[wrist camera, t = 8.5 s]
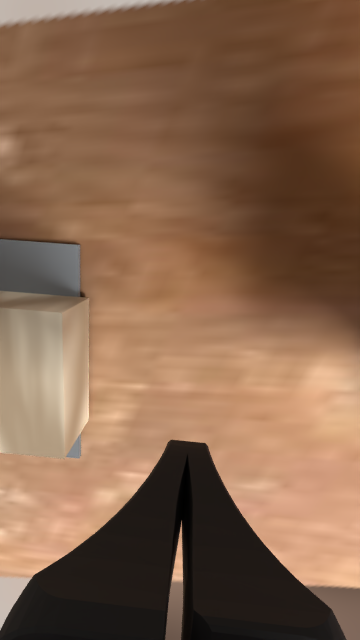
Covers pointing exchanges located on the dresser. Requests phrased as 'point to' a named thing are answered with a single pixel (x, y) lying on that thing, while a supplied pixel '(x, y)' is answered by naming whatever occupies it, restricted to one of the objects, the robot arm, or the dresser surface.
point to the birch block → (43, 373)
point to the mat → (41, 276)
